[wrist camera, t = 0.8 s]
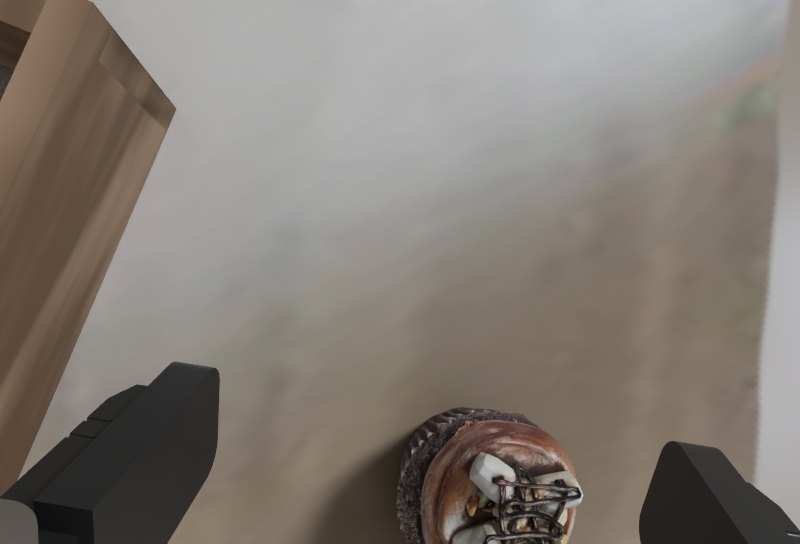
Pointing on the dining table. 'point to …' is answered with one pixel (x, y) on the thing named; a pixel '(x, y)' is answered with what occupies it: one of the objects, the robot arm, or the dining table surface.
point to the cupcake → (486, 482)
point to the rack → (62, 192)
